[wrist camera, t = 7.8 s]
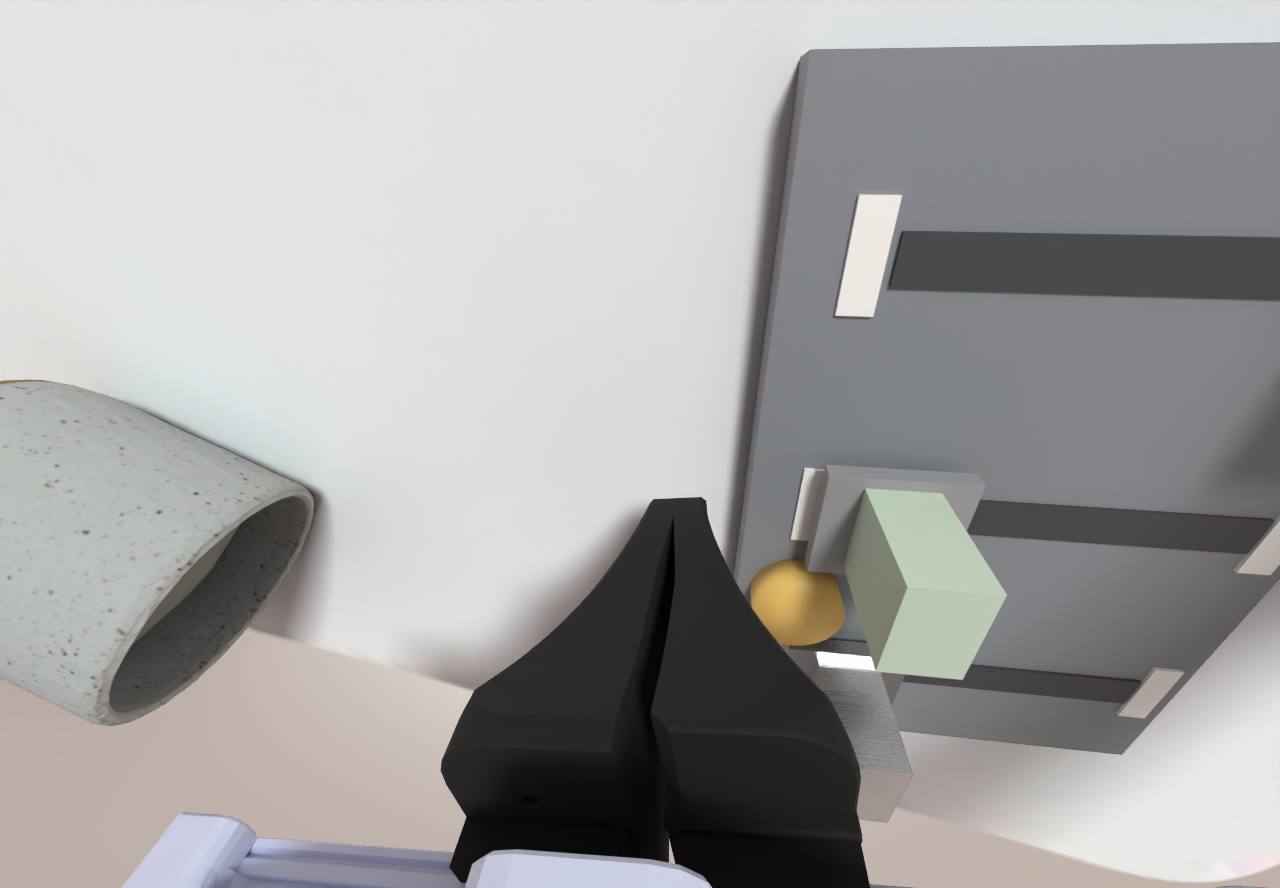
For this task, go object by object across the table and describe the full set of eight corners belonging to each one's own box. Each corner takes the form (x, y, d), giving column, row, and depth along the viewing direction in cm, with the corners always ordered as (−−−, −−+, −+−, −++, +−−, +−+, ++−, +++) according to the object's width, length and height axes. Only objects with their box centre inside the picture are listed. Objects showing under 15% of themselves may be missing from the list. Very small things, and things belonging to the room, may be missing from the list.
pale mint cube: (977, 473, 13) (1065, 587, 10) (937, 569, 14) (1001, 692, 11) (825, 464, 13) (862, 571, 10) (804, 558, 15) (830, 675, 12)
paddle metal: (905, 646, 16) (953, 772, 13) (881, 707, 18) (918, 831, 15) (787, 635, 16) (805, 755, 13) (773, 695, 18) (787, 815, 15)
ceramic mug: (73, 323, 15) (-364, 465, 9) (332, 444, 17) (102, 641, 10) (101, 538, 21) (-163, 720, 14) (295, 617, 22) (129, 816, 16)
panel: (1644, 45, 9) (1895, 23, 7) (1099, 721, 19) (1141, 785, 17) (800, 56, 10) (820, 41, 8) (719, 682, 21) (720, 738, 19)
